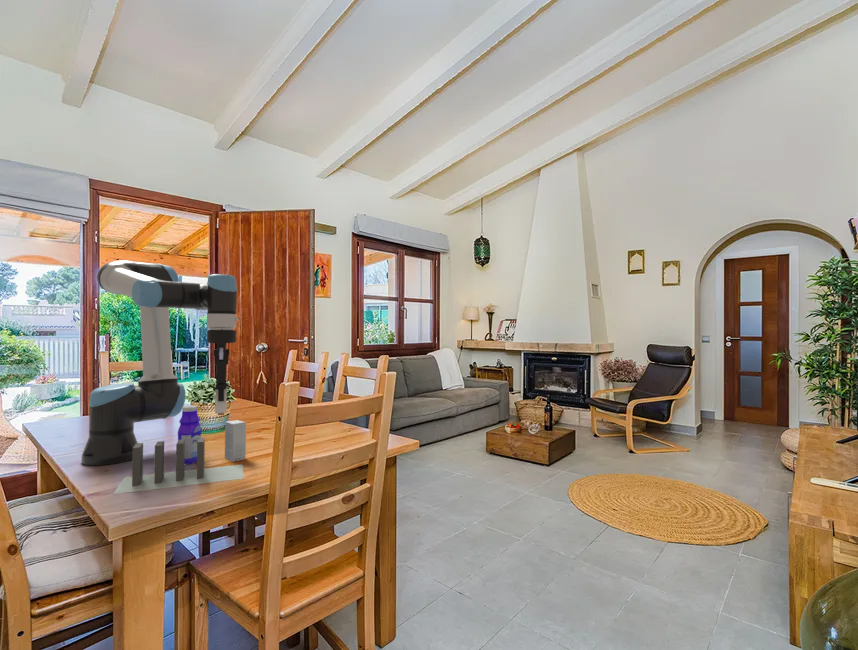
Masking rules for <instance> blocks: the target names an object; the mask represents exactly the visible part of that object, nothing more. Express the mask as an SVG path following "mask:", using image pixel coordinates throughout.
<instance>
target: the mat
mask: <svg viewBox="0 0 858 650" xmlns="http://www.w3.org/2000/svg"><path fill="white" fill-rule="evenodd" d="M154 475H155V473H151V474H143V480H142V482H141V484H140V485H139V486H132V475H131V476H125V477H124V478H123V479H122V481H121V482H120V483H119V485H118V486H117V488H116V490H115V491H114V492H113V495H117V494H126V493H133V492H134V493H135V492H143V491H150V490H161V489H169V488H177V487H185V486H194V485H201V484H210V483H218V482H226V481H227V482H228V481H237V480H244V479H245V476H244V465H243V463H242V464H235V465H226V466H216V467H208V468H207V467H206V468H205V467H204V477H203V478H201V479H197V468H195V469H188V470H187V469H186V470H184V478H183V481H176V471H169V472H164V478H163V481H162V483H158V484H154Z"/></svg>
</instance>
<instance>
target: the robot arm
mask: <svg viewBox="0 0 858 650" xmlns="http://www.w3.org/2000/svg"><path fill="white" fill-rule="evenodd" d="M96 281H97V283H98V285H99V287H100V288H101V289H102V290H103V291H105V292H107V293H110V294H113V295H120V296H121V295H122V296H127V297H129V298H131V299H132V300H133V303H134V304H135V306H138V307H139V311H140V330H141V332H140V333H141V336H140V337H141V353H142V355H141V356H142V377H141V378H140V379H138V381H137V385H138V386H135V384H134V383H133V382H124V383H123V382H121V383H114V384H108V385H104V386H101V387H96V388H94V389H93V390H92V391H91V392H90V395H89V402H88V407H89V409H88V411H89V413H88V414H89V415H88V421H89V422H88V438H87V441H86V444H85V446H84V449H83V451H82V453H81V464H83V465H86V466H105V465H106V466H107V465H115V464H119V463H125V462H127V461H128V462H129V461H131V460H132V453H133V447H134V446H135V444H136V443H139V442H138V440H137V438H136V435H135V431H134V430H135V429H134V427H135V426H134V425H135V423H139V422H140V423H141V422H149V421H154V420H155V421H156V420H161V419H163V420H165V419H168V418H173V417H177V415H179V414H180V413H182V407H184V406H185V403H186V389H185V386H184V384H182V383H180V382H178V377H177V376H176V375H175V374H174V373H173V367H172V347H171V345H172V344H171V324H170V309H172V308H173V309H174V308H175V309H191V310H192V309H193V310H198V311H199V310H201V311H205V310H207V313H206V327H207V328H208V330H207V331H206V333H207V334H206V342H207V343H208V344H216V349H213V355H214V365H215V367H216V369H215V373H216V374H215V376H216V378H215V379H216V380H215V381H216V382H215V386H214V387H213V388H212V390H213V391H215V414H218V413H224V414H225V413H227V398H228V397H227V396H228V395H227V393H228V392H227V387H229V386H230V384H229V383H228V381H227V365H229V356H230V349H228V348H227V344H235V343H236V342H237V331H236V330H235V328H237V322H239V317H237V304H238V303H237V301H238V300H237V297H238V287H237V278H236V277H235V276H234V275H232V274H231V275H230V274H223V273H221V274H220V273H214V274H210V275H208V276H207V283H195V282H185V281H180V278H179V275H178V273H177V272H176V270H175V269H174V268H173V267H172V266H170V265H166V264H161V263H154V262H153V263H152V262H140V261H133V260H113V261H110V262H108V263H105V264H103V265H102V266H101V267H100V268H99V270H98V271H97V274H96Z"/></svg>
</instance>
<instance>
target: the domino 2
mask: <svg viewBox="0 0 858 650" xmlns="http://www.w3.org/2000/svg"><path fill="white" fill-rule="evenodd" d="M164 473H165V441H164V440H162V441H156V444H155V445H154V474H155V475H154V484H158V483H162V481H163V478H164Z"/></svg>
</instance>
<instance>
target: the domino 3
mask: <svg viewBox="0 0 858 650" xmlns="http://www.w3.org/2000/svg"><path fill="white" fill-rule="evenodd" d="M175 448H176V449H175V450H176V452H175V453H176V455H175V456H176V458H175V472H176V481H183V478H184V471H185V468H186V467H185V466H186V464H185V439H184V440H178V439H177V442H176V447H175Z"/></svg>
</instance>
